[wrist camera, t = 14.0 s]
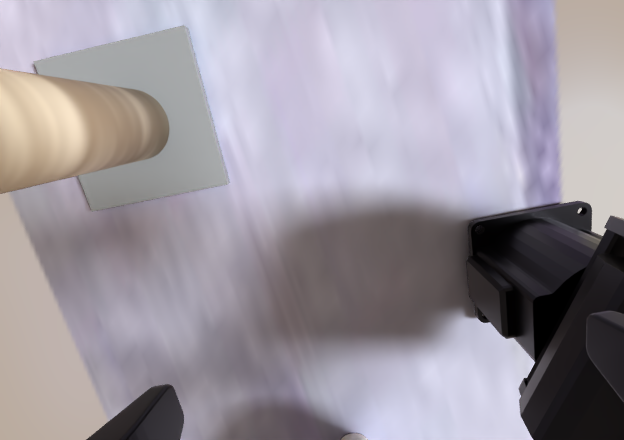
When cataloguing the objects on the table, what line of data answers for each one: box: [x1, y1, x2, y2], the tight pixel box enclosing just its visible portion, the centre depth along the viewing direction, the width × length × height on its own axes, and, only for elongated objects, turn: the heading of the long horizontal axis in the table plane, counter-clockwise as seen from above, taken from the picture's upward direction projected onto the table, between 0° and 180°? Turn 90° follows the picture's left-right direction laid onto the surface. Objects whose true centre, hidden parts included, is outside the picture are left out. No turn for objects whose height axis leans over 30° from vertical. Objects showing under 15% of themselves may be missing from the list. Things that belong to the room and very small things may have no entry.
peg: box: [0, 69, 169, 194], centre depth 12 cm, size 4×4×14 cm
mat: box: [34, 26, 230, 212], centre depth 19 cm, size 8×8×1 cm
